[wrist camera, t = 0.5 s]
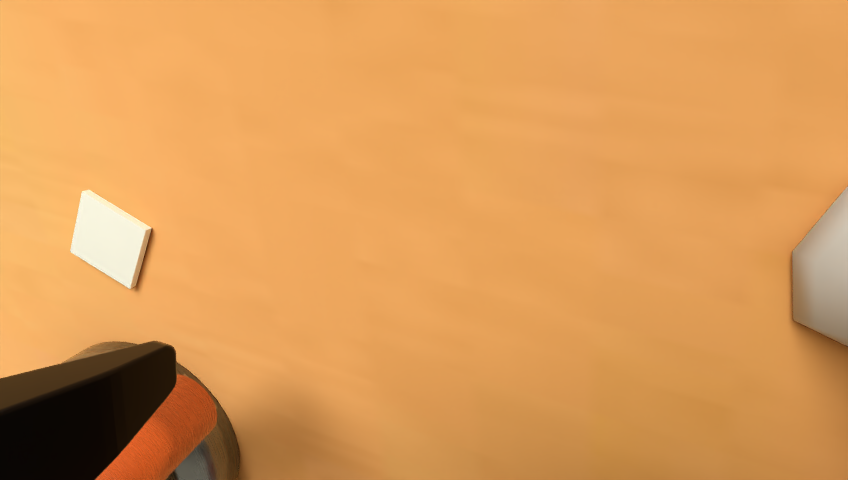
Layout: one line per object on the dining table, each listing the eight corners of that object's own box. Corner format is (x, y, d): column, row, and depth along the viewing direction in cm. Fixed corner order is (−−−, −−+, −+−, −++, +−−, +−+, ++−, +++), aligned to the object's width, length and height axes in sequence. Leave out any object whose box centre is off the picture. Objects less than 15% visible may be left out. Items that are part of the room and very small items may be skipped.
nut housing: (278, 483, 28) (249, 526, 25) (149, 528, 33) (112, 568, 30) (148, 309, 26) (102, 336, 23) (30, 383, 31) (-20, 413, 28)
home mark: (151, 228, 24) (145, 230, 24) (135, 285, 26) (130, 288, 25) (88, 189, 24) (82, 191, 24) (76, 249, 26) (70, 251, 25)
